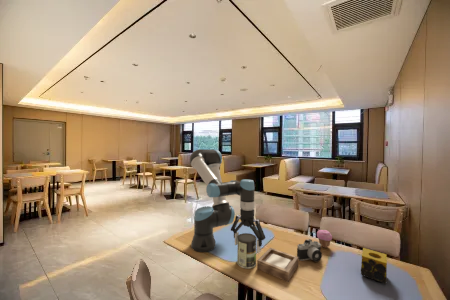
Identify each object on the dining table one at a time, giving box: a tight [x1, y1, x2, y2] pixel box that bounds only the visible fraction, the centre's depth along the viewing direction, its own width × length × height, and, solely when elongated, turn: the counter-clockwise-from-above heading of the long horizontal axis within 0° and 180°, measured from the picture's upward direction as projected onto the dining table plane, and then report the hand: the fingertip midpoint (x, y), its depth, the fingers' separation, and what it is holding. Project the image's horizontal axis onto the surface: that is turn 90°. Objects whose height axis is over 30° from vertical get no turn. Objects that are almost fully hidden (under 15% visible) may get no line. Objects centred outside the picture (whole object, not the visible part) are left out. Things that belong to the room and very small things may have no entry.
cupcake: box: [316, 229, 333, 248], centre depth 125 cm, size 9×9×10 cm
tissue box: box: [360, 247, 388, 284], centre depth 97 cm, size 10×10×10 cm
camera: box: [296, 238, 323, 263], centre depth 110 cm, size 16×9×10 cm, turn 106°
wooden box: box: [256, 247, 299, 283], centre depth 102 cm, size 16×16×4 cm
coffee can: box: [236, 232, 257, 269], centre depth 105 cm, size 10×10×14 cm
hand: (247, 248), depth 105 cm, fingers open, 13 cm apart
